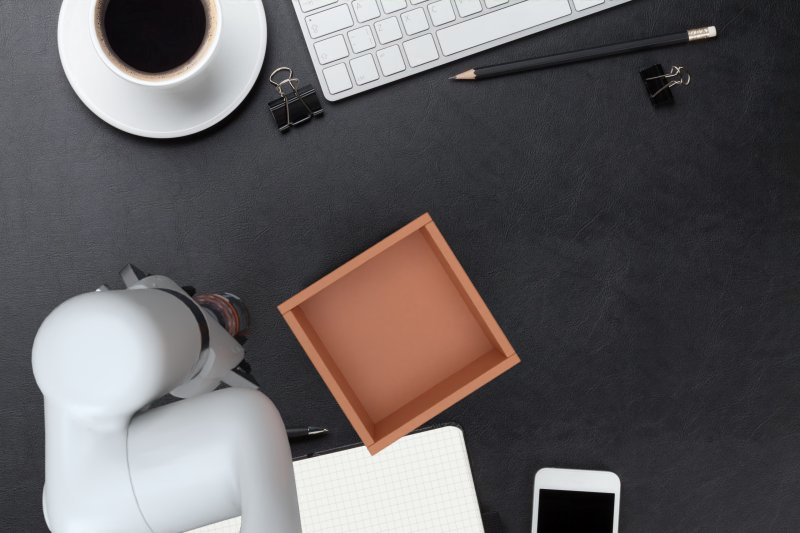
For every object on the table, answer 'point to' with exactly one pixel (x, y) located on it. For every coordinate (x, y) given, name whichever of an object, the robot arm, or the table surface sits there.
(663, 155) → the table surface
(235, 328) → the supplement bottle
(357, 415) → the bin
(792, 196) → the table surface
